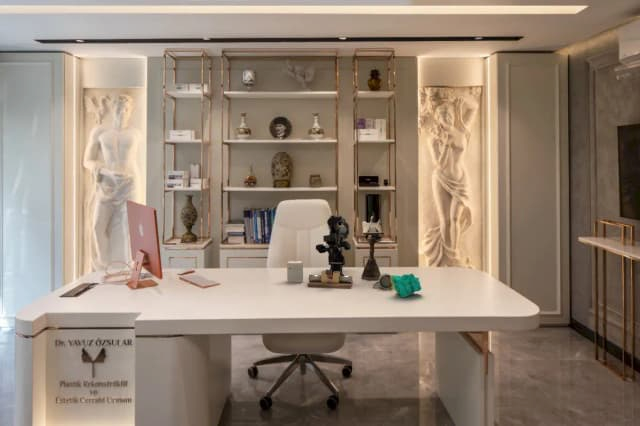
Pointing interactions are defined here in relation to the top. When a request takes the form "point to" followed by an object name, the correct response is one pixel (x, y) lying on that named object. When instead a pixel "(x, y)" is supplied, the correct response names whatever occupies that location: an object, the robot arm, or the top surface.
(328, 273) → the lever
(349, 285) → the walnut board
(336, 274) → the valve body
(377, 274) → the bird statue
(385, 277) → the ceramic mug
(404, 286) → the teal lumpy block
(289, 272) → the small box
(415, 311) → the top surface
